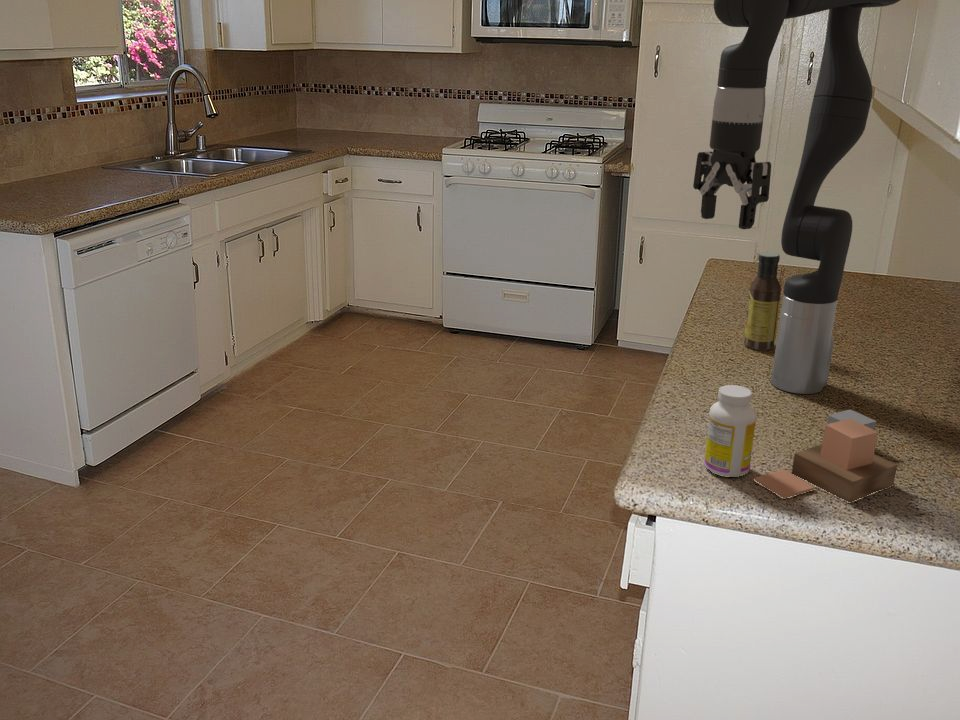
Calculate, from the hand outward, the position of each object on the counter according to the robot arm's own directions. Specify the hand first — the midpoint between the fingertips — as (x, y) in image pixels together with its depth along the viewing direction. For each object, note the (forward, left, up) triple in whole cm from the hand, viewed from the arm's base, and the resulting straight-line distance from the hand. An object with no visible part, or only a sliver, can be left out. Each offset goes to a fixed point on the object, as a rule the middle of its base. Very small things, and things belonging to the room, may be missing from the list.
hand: (725, 223), depth 139 cm
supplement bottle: (+11, +17, -33) cm, 39 cm away
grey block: (-12, +20, -33) cm, 41 cm away
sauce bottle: (-33, -21, -33) cm, 51 cm away
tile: (+7, +25, -33) cm, 42 cm away
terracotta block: (-2, +28, -30) cm, 41 cm away
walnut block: (-2, +28, -34) cm, 44 cm away
